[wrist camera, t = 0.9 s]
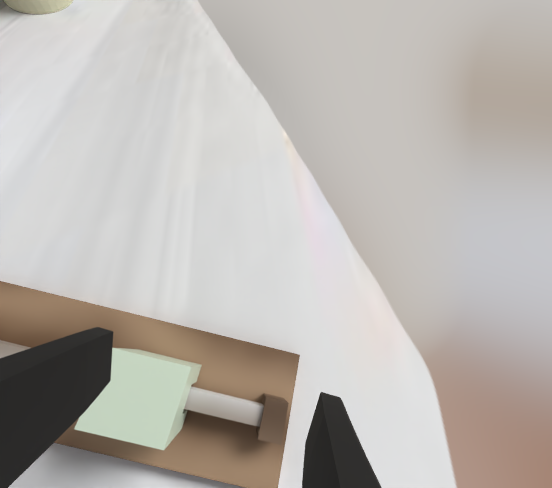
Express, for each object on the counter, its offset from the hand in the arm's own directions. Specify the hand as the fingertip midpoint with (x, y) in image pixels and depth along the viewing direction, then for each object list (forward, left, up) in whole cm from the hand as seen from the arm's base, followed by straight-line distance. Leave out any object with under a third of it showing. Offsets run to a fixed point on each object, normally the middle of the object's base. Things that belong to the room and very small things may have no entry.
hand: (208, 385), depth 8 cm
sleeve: (-2, +5, -13) cm, 14 cm away
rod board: (-2, +9, -14) cm, 17 cm away
